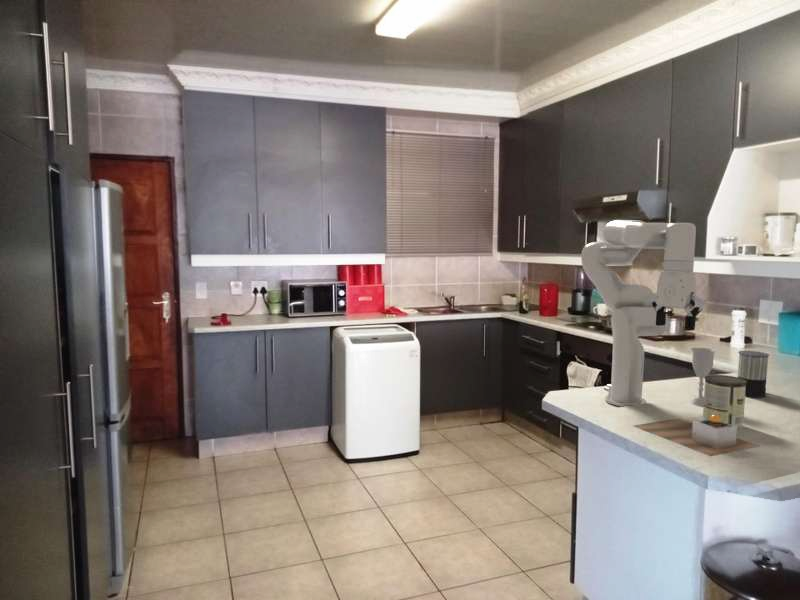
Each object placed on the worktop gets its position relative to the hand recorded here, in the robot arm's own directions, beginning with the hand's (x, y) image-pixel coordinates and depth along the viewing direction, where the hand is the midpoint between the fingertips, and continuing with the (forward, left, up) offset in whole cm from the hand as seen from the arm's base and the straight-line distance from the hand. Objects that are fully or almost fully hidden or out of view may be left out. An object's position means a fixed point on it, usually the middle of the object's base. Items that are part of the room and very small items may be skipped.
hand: (674, 327), depth 158 cm
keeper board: (+12, -5, -28) cm, 31 cm away
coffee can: (+7, +13, -28) cm, 32 cm away
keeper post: (+18, -5, -27) cm, 33 cm away
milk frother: (-18, +54, -29) cm, 64 cm away
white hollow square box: (+18, -5, -27) cm, 33 cm away
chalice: (-12, +28, -28) cm, 42 cm away
